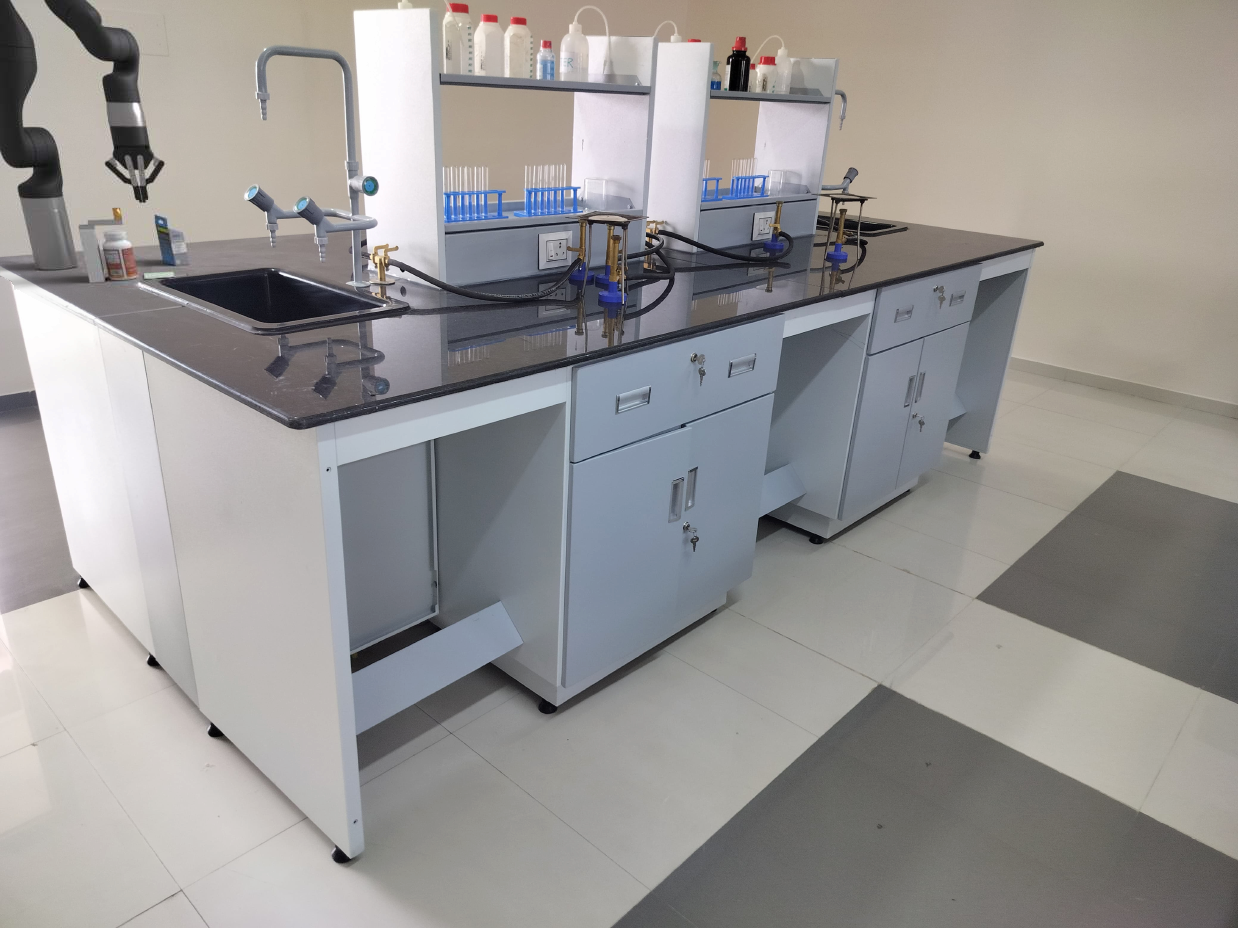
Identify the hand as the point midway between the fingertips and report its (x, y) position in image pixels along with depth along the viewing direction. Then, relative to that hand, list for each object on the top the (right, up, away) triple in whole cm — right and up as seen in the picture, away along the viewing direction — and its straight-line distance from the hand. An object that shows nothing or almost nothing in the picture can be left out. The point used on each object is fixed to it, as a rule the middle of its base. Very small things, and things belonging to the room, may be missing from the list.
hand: (142, 202), depth 204 cm
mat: (0, -16, +8) cm, 18 cm away
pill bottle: (-7, -17, +4) cm, 19 cm away
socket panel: (-13, -17, +3) cm, 22 cm away
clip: (-8, -6, -2) cm, 10 cm away
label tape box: (-5, -9, +24) cm, 26 cm away
